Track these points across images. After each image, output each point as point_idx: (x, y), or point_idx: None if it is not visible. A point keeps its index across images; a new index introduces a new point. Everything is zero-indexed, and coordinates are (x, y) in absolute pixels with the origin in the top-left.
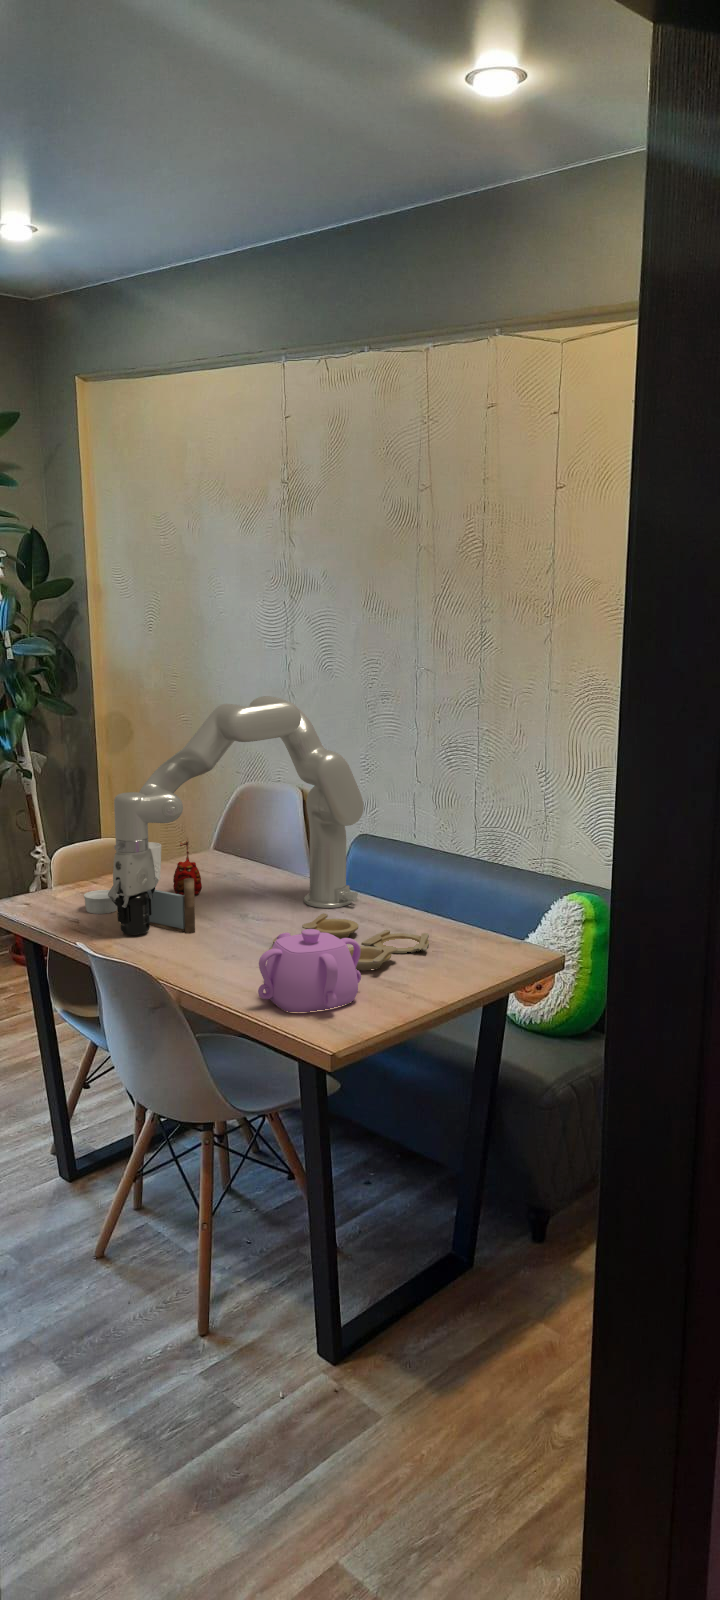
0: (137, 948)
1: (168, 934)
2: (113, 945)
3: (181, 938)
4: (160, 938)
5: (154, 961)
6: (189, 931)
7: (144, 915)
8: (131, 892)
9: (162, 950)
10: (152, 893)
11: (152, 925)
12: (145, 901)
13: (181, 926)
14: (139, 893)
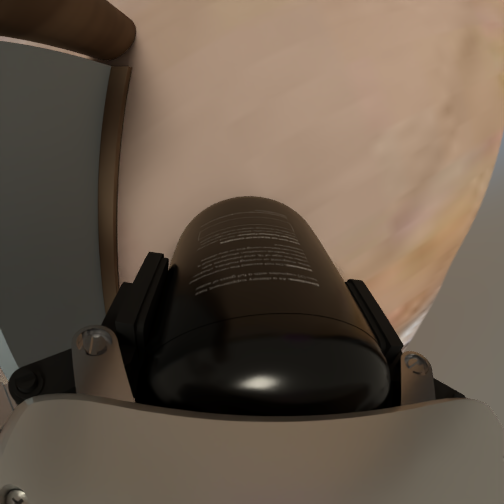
0: (426, 139)
1: (187, 101)
2: (412, 247)
3: (223, 10)
4: (266, 101)
5: (494, 40)
6: (131, 20)
7: (286, 237)
8: (480, 418)
9: (413, 31)
10: (57, 358)
11: (115, 250)
12: (284, 305)
13: (104, 76)
14: (360, 413)
